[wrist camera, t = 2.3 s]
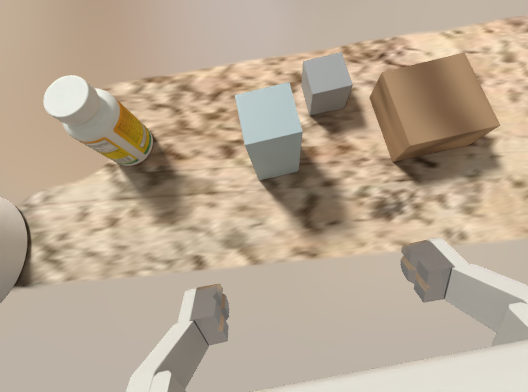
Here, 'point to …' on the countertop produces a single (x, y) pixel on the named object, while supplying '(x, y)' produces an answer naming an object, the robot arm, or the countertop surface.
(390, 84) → the plinth
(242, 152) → the countertop surface
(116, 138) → the supplement bottle
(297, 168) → the pillar
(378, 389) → the robot arm
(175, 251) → the countertop surface
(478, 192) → the countertop surface
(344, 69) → the block
